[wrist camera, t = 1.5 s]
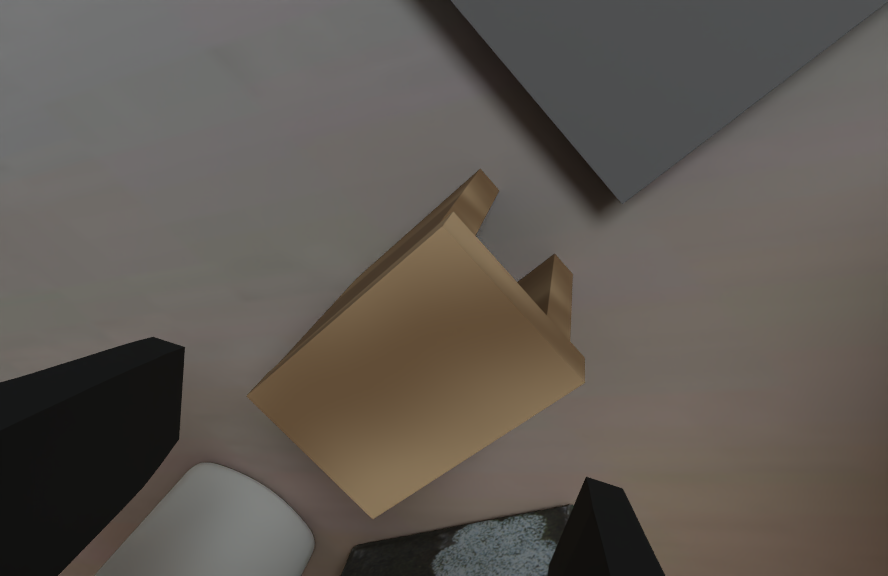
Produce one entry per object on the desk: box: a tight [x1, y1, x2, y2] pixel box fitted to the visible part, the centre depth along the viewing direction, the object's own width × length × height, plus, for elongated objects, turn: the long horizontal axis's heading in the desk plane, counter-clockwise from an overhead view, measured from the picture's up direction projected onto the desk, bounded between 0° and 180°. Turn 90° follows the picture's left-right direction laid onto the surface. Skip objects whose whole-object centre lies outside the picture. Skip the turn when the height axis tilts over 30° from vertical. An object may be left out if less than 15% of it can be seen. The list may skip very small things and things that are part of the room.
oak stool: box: [247, 169, 585, 519], centre depth 16 cm, size 4×6×6 cm, turn 133°
